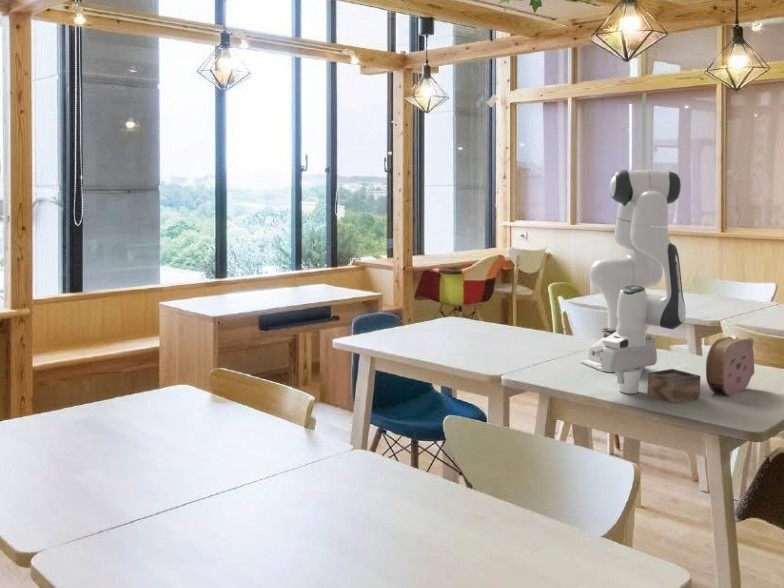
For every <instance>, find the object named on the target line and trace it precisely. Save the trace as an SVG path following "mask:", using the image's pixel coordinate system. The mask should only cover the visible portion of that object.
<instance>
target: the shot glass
mask: <svg viewBox="0 0 784 588" xmlns="http://www.w3.org/2000/svg"><path fill="white" fill-rule="evenodd" d="M640 373H641V370H640V369H638V368H633V369H627V370H623V373H622V376H623V378H624V384H619V383H618V391H619V392H620V393H623V394H637V393H638V392H639V387H640V381H641V376H640ZM639 380H640V381H639Z"/></svg>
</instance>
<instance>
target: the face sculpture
mask: <svg viewBox="0 0 784 588" xmlns="http://www.w3.org/2000/svg"><path fill="white" fill-rule="evenodd" d="M754 343H755V340H754V339H753V338H752V337H747V338H741V339H740V338H739V339H735V338H733V337H731V336H726V337H722V338H721V337H720V338H717V339H716V340H714V341H713V343H711V346H710V348H709V350H708V353H707V356H706V361H705V379H706V383H707V385H708V388H709V390H710V391H711V392H712V393H713V394H719V393H724V394H725V395H726V396H727V397H731V396H734V395H737V394H740V393H741V392H744V391H745V390H746V389H747V387H748V386H749V384H750V381H751V378H752V377H753V376H754V375H755V359H754V358H755V355H754Z"/></svg>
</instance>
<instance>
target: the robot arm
mask: <svg viewBox="0 0 784 588" xmlns="http://www.w3.org/2000/svg"><path fill="white" fill-rule="evenodd" d="M609 182H610V183H609V192H610V197H611V198H612V199H613V200H614V201H615V202H617V203H618V208H617V213H616V220H615V227H614V239H615V242H616V244H618V245H619V246H620V247H622V248H623V249H625V250H626V251H625V252H626V255H625V256H621V257H606V258H602V259H598V260H594V261H593V262H592V264H591V266H590V268H589V271H588V273H589V279H590V283H591V284H592V285H593V286H594V288H596V289H597V290H599V292H600V293H601V294H602V296H603V298H604V300H605V303H606V307H607V308H606V309H607V327H606V328H601V330H602V331H601V333H603V336H602V337H601V338H600V339H599V340H598V341H596V342H594V343H593V344H592V345H590V347H589V350H588V355H587V357H585V358H583V359H581V361H580V363H581V364H583V365H585V366H589V367H591V368H594V369H596V370H598V371H601V372H608V373H615V375H616V378H617V384H618V385H619V384H624V378H623V376H622V373H623V370H627V369H633V368H638V369H640V370H641V373H640V377H641V376H642V374H643V372H644V370H645V367H650V366H655V365H656V363H657V361H658V354H657V353H658V352H657V351H658V350H657V346H656V339H655V338H654V337H653V336H652V335H648V336H647V327H646V326H653V327H659V328H664V329H666V330H675V329H676V328H678V327H679V326H681V325H682V324H683V323H684V322H685V321H686V316H687V315H686V304H685V299H684V295H683V284H682V283H683V281H682V274H681V266H680V265H681V264H680V257H679V255H680V254H679V252H678V248H677V246H676V245H675V244H673V243H672V241H671V240H670V236H669V233H668V232H669V229H668V227H669V206H668V204H669V205H670V204H673V203H675V202H676V201H677V200H678V199H679V197H680V193H681V191H682V190H681V189H682V184H681V182H682V181H681V179H680V177H679V175H678V174H677V173H676V172H673V171H669V170H666V171H662V170H658V169H657V170H656V169H634V170H628V169H622V170H618V171H615V173H613V175H612V177H611V179H610V181H609ZM663 272H664V281H665V291H666V292H665V293H666V294H665V295H658V294H649V293H647V292H646V291H647V290H646V289H647V288H650V287H655V286H657V285H658V284H659V283H660V282H661V280H662V278H663ZM640 381H641V379H640V380H639V382H640Z"/></svg>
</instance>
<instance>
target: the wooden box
mask: <svg viewBox="0 0 784 588" xmlns="http://www.w3.org/2000/svg"><path fill="white" fill-rule="evenodd" d="M700 393H701V375H699V374H695V373H691V372H687V371H683V370H679V369H675V368H669V369H663V370H657V371H652V372H648V375H647V396H649V397H652V398H656V399H658V400H659V399H660V400H662V401H666V402H669V403H672V404H679V403H683V402H688V401H694V400H698V399H700Z"/></svg>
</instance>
